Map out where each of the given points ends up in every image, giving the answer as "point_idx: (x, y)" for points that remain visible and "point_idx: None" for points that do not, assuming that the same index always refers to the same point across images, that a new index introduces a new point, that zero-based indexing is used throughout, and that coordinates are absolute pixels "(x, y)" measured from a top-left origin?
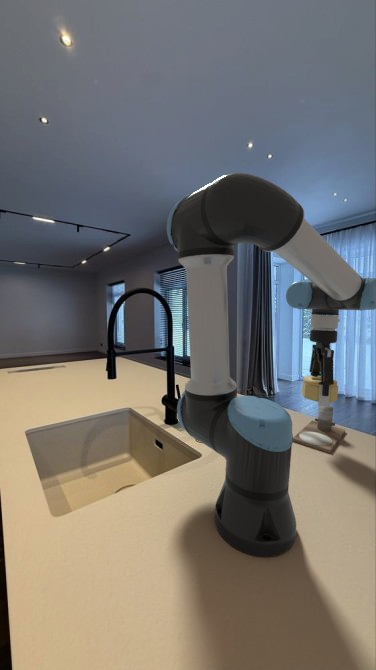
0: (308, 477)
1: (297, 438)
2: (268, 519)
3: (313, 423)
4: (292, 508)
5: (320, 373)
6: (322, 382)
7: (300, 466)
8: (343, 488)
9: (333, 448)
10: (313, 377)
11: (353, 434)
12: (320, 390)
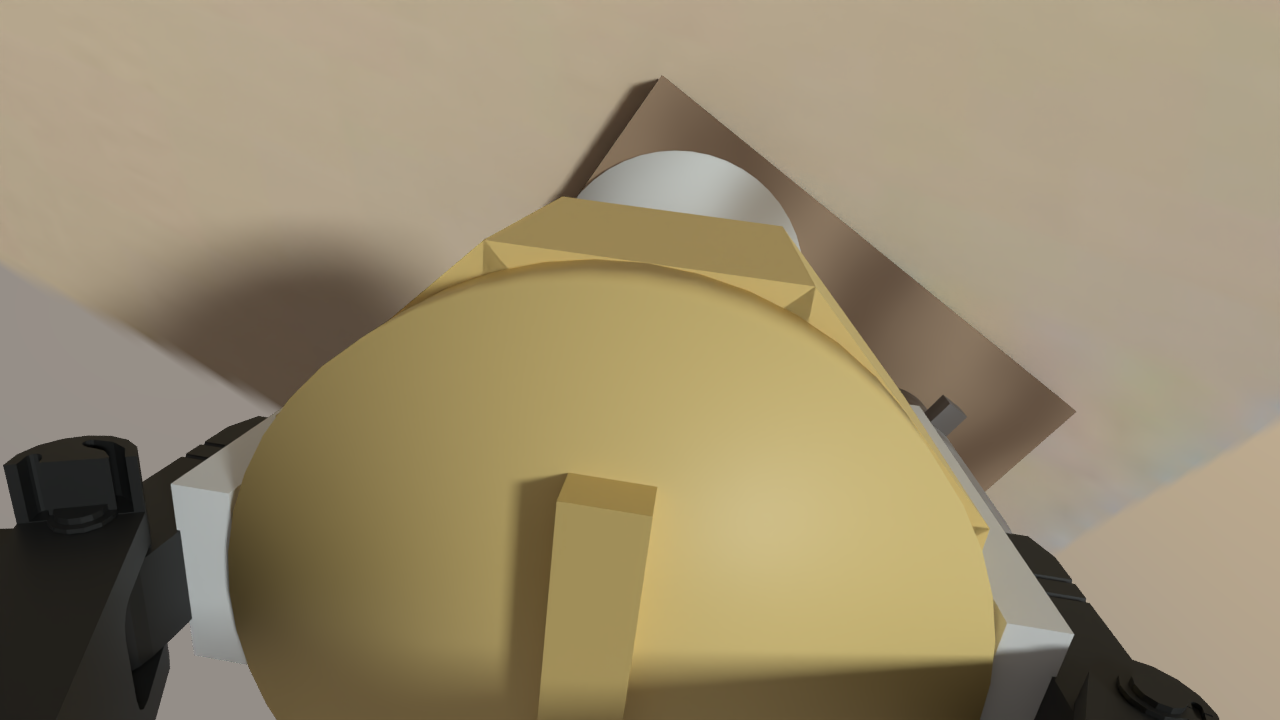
0: (157, 24)
1: (660, 121)
2: None
3: (1004, 396)
4: None
5: (49, 707)
6: (27, 523)
7: (278, 13)
8: (116, 204)
9: None
10: (597, 547)
11: None
12: (262, 429)
